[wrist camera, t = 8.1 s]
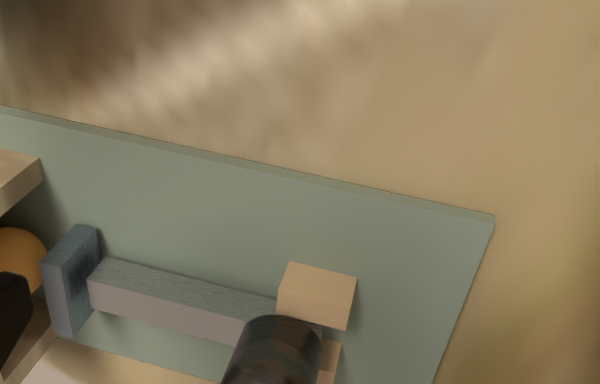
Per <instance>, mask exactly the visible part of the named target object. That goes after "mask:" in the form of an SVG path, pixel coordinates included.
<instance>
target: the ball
mask: <svg viewBox="0 0 600 384" xmlns="http://www.w3.org/2000/svg"><path fill="white" fill-rule="evenodd" d="M46 254H47V250H46V248H45V246H44V245H43V243H42V242H41V240H40V239H39V238H38V237H36V236H35V235H34V234H32V233H31V232H29V231H27V230H24V229H21V228H17V227H0V272H2V271H9V272H13V273H17V274H21V275H24V276H25V277H26V278H27V280H28V283H29V287H30V291H31V294H32V293H33V292H34V291H35V290H36V289H37V288H38V287H39V286H40V285H41V284H42V278H41V273H40V269H39V264H38V262H39V261H40V260H41V259H42V258H43V257H44V256H45V255H46Z"/></svg>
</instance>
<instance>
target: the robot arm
mask: <svg viewBox="0 0 600 384" xmlns="http://www.w3.org/2000/svg"><path fill="white" fill-rule="evenodd" d="M33 311H34V303H33V299H32V295H31V291H30V287H29V283H28V280H27V278H26V277H25V276H24V275H21V274H17V273H13V272H9V271H2V272H0V371H1V370H2V368H3V366H4V364H5V363H6V361H7V359H8V358H9V356H10V354H11V352H12V351H13V349H14V347H15V346H16V344H17V342H18V340H19V339H20V337H21V335H22V334H23V332H24V330H25V328H26V327H27V325H28V323H29V321H30V320H31V318H32V315H33Z"/></svg>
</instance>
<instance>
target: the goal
mask: <svg viewBox="0 0 600 384" xmlns="http://www.w3.org/2000/svg"><path fill="white" fill-rule="evenodd" d="M43 180H44V179H43V174H42V168H41V163H40V158H39V157H36V156H32V155H28V154H23V153H19V152H15V151H11V150H6V149H2V148H0V217H1V216H2V215H3V214H4V213H6V212H7V211H8V210H9V209H10V208H11V207H13V206H14V205H15V204H16V203H17V202H18V201H20V200H21V199H22V198H23V197H24V196H26V195H27V194H28V193H29V192H30V191H31V190H33V189H34V188H35V187H36V186H37V185H39V184H40V183H41V182H42V181H43ZM32 299H33V303H34V311H33V315H32V318H31V320H30V321H29V323H28V325H27V327H26V328H25V330H24V332H23V334H22V335H21V337H20V339H19V340H18V342H17V344H16V346H15V347H14V349H13V351H12V352H11V354H10V356H9V358H8V359H7V361H6V363H5V364H4V366H3V368H2V370H1V371H0V384H20V383H21V382H22V381H23V379H24V378H25V377H26V376H27V375H28V373H29V372H30V371H31V369H32V368H33V367H34V366H35V364H36V363H37V362H38V361H39V359H40V358H41V357H42V355H43V354H44V353H45V352H46V350H47V349H48V348H49V347H50V345H51V344H52V343H53V341H54V340H55V339H56V338H57V336H58V334H54V333H53V329H52V324H51V320H50V315H49V310H48V306H47V301H46V299H42V298H39V297H35V296H32Z"/></svg>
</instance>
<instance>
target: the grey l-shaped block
mask: <svg viewBox="0 0 600 384" xmlns="http://www.w3.org/2000/svg"><path fill="white" fill-rule="evenodd" d="M38 264H39V269H40V273H41V278H42V282H43V287H44V292H45V296H46V301H47V306H48V310H49V315H50V320H51V324H52V329H53V333H54V334H58V335H61V336H65V337H69V338H72V339H74V337H75V336H76V335H77V333H78V332H79V331H80V329H81V328H82V327H83V325H84V324H85V323H86V321H87V320H88V319H89V317H90V316H91V315H92V313H93V312H94V311H95V309H97V310H100V311H104V312H108V313H111V314H115V315H119V316H123V317H126V318H130V319H134V320H137V321H141V322H145V323H149V324H152V325H156V326H160V327H163V328H167V329H171V330H175V331H178V332H182V333H186V334H189V335H193V336H197V337H201V338H204V339H208V340H212V341H216V342H219V343H223V344H227V345H230V346H234V347H235V350H234V352H233V354H232V357H231V359H230V361H229V364H228V366H227V368H226V371H225V373H224V376H223V378H222V380H221V383H220V384H316V382H317V378H318V374H319V370H320V366H321V362H322V358H323V347H322V344H321V342H320V340H321V336H322V331H323V326H324V325H320V324H316V323H312V322H308V321H304V320H300V319H297V318H293V317H289V316H285V315H281V314H277V313H276V305H277V300H274V299H270V298H266V297H262V296H258V295H254V294H250V293H247V292H243V291H239V290H235V289H231V288H227V287H223V286H219V285H215V284H211V283H207V282H203V281H199V280H196V279H192V278H188V277H184V276H180V275H176V274H172V273H168V272H164V271H160V270H156V269H152V268H149V267H145V266H141V265H137V264H133V263H129V262H125V261H121V260H117V259H113V258H109V257H105V258H104V259H103V260H102V261H101V262H100V255H99V247H98V239H97V231H96V228H93V227H89V226H85V225H81V224H77V223H76V224H75V225H74V226H73V227H72V228H71V229H70V230H69V231H68V232H67V233H66V234H65V235H64V236H63V237H62V238H61V239H60V240H59V241H58V243H57V244H56V245H55V246H54V247H53V248H52V249H51V250H50V251H49V252H48V253H47V254H46V255H45V256H44V257H43V258H42V259H41V260H40V261H39V262H38Z"/></svg>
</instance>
